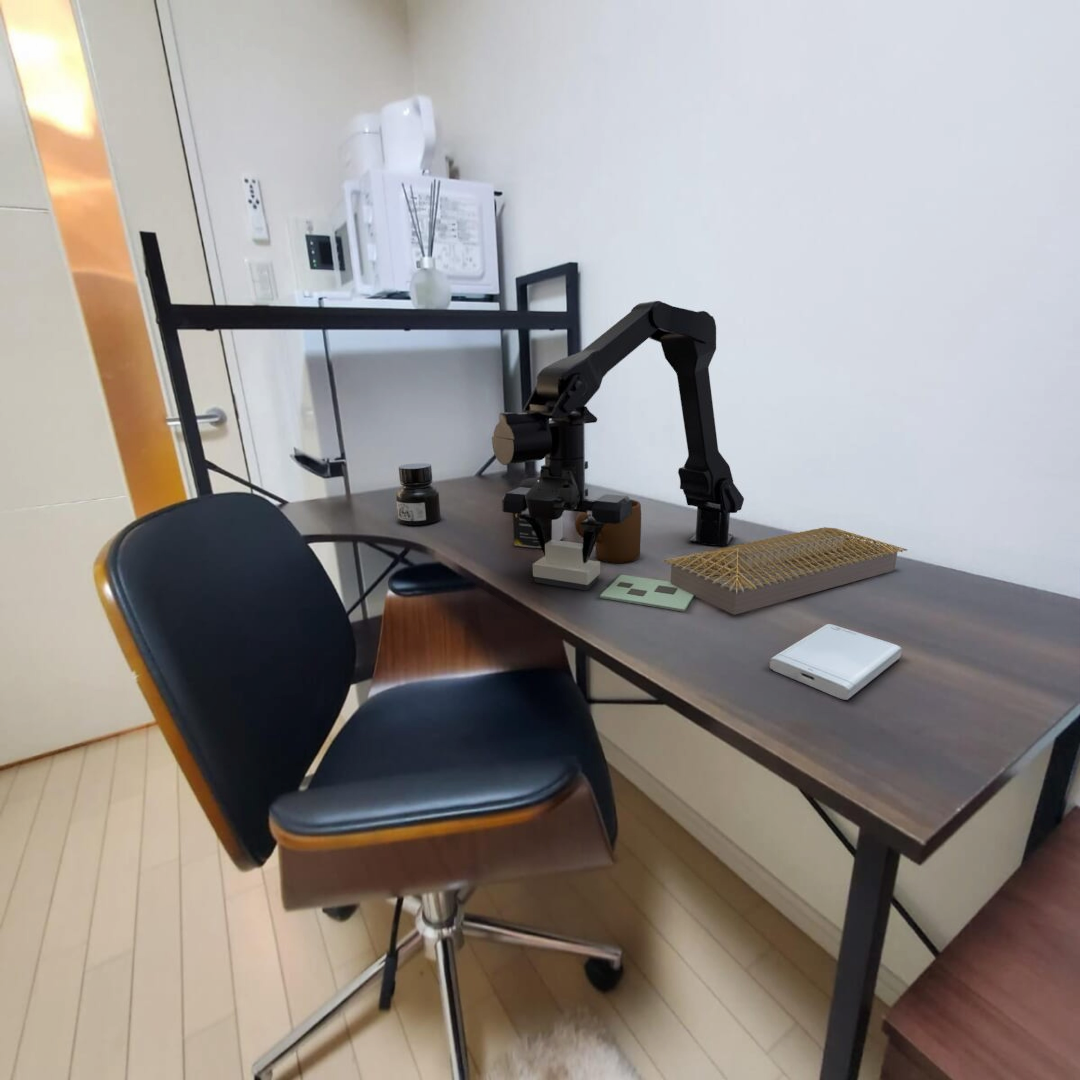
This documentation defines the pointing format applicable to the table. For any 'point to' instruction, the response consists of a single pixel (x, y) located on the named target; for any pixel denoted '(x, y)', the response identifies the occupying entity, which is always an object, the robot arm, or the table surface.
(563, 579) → the white stepped block
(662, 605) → the desk mat
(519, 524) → the medicine bottle
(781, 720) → the table surface
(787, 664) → the hard drive
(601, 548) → the mug
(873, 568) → the rafter model
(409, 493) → the ink bottle
